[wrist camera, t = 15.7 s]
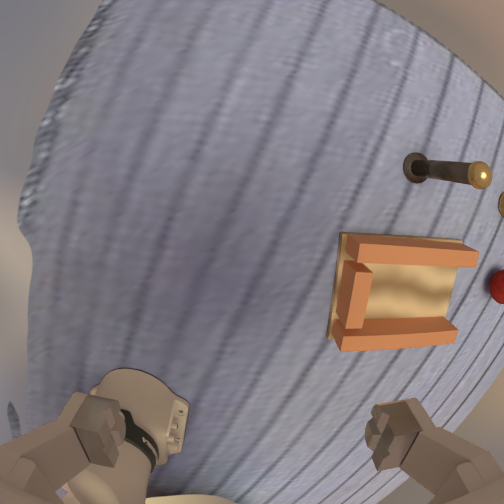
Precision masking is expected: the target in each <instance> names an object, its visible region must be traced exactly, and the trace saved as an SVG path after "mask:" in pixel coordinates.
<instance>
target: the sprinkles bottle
mask: <svg viewBox="0 0 504 504" xmlns="http://www.w3.org/2000/svg"><path fill="white" fill-rule="evenodd" d="M499 210H500V213H501V214H502V215H503V216H504V193H503V194H502V195H501V197H500V200H499Z"/></svg>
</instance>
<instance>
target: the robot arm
mask: <svg viewBox="0 0 504 504" xmlns="http://www.w3.org/2000/svg"><path fill="white" fill-rule="evenodd" d="M181 410H182V411H181ZM188 411H189V403H188V402H187V401H185V400H184V399H182V398H180V397H178V396H176V395H175V394H174V393H172V392H171V391H170V390H169V388H168V387H167V386H166V385H164V384H163V383H162V382H161V381H159V380H158V379H156V378H155V377H153V376H151V375H149V374H147V373H144V372H141V371H138V370H133V369H117V370H114V371H111V372H109V373H108V374H107V375H105V377H104V378H103V380H102V381H101V383H100V384H99V385H97V386H95V387H93V388H92V389H91V391H90V394H85V393H81V392H75V393H73V395H72V396H71V398H70V399H69V401H68V402H67V404H66V406H65V407H64V409H63V410H62V412H61V414H60V415H59V417H58V418H57V420H56V422H53V421H51V422H49V423H47V424H45V425H43V426H41V427H39V428H37V429H35V430H33V431H31V432H29V433H27V434H24V435H22V436H20V437H18V438H16V439H14V440H12V441H10V442H7V443H5V444H3V445H1V446H0V504H64V502H63V501H62V500H61V498H60V497H59V496H58V494H57V493H56V492H55V491H56V490H58V489H59V488H60V487H62V486H63V485H64V484H66V483H67V482H68V485H69V488H70V490H71V492H72V493H73V495H74V496H75V498H76V499H77V500H78V501H79V502H80V503H81V504H145V499H146V492H147V486H148V480H149V476H150V474H151V473H152V471H153V470H154V469H155V467H156V466H157V465H163V464H165V463H167V461H168V457H169V454H175V453H179V452H181V450H182V446H183V440H184V434H185V429H186V423H187V417H188ZM371 414H372V416H373V418H372V419H370V420H369V421H368V422H367V425H366V428H365V440H366V443H367V446H368V448H370V449H371V450H373V451H374V452H373V455H372V459H373V462H374V464H375V467H376V469H377V471H380V470H386V469H391V468H396V467H400V469H402V470H403V471H404V472H405V473H407V474H408V475H409V476H411V477H412V478H413V479H415V480H416V481H417V482H418V483H420V484H421V485H422V486H424V487H425V488H426V489H427V490H429V491H430V492H431V493H433V494H434V495H435V496H434V497H433V498H432V499H431V500H430V502H429V503H428V504H504V472H503V471H502V469H501V468H500V466H499V465H498V463H497V462H496V460H495V459H494V457H493V456H492V454H491V453H490V452H489V451H487V450H485V449H483V448H481V447H479V446H477V445H475V444H473V443H471V442H469V441H466V440H465V439H463V438H460V437H458V436H457V435H455V434H453V433H451V432H449V431H447V430H445V429H443V428H441V427H437V428H436V427H435V425H434V423H433V422H432V420H431V419H430V417H429V416H428V414H427V412H426V411H425V409H424V408H423V406H422V405H421V403H420V402H419V400H418V399H417V398H410V399H405V400H399V401H393V402H387V403H381V404H375V406H374V407H373V409H372V411H371Z"/></svg>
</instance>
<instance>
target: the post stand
mask: <svg viewBox="0 0 504 504" xmlns="http://www.w3.org/2000/svg"><path fill="white" fill-rule="evenodd" d="M403 171H404V174H405V176H406V178H407V179H408V180H409V181H411V182H413V183H422V182H424V181H425V180H426V179H427V178H432V179H439V180H445V181H451V182H457V183H463V184H469V185H472V186H473V187H474V188H476V189H485V188H487V187H488V186H489V185H490V183H491V181H492V172H491V169H490V167H489V166H488V165H487V164H486V163H484V162H482V161H475V162H473V163H465V162H451V161H435V160H427V158H426V157H425V156H424V155H423V154H421V153H411V154H409V155H408V156H407V157H406V158H405V160H404V163H403Z"/></svg>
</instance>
